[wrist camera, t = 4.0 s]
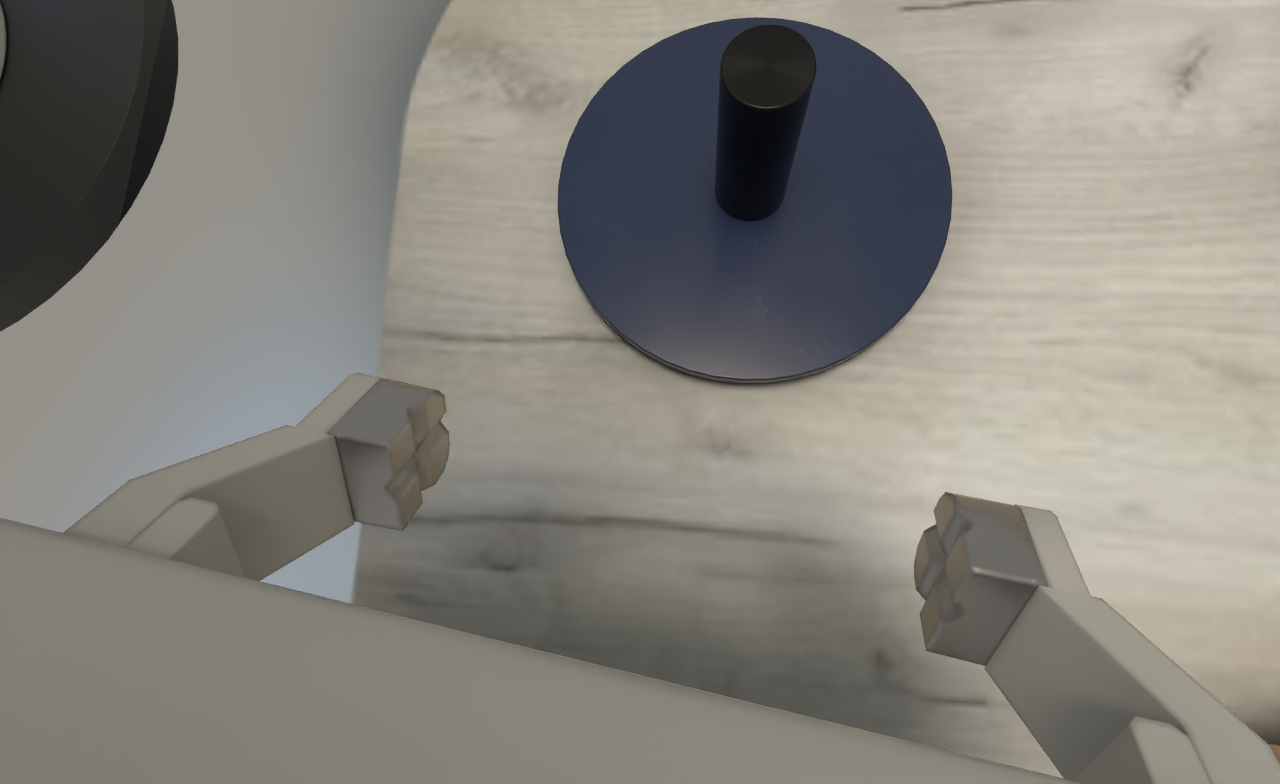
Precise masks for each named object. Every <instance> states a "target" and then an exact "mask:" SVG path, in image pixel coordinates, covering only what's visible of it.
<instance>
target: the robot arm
mask: <svg viewBox="0 0 1280 784" xmlns="http://www.w3.org/2000/svg"><path fill="white" fill-rule="evenodd" d="M5 54H6V24H5V18H4V13H3V9H2V6H1V3H0V78H1V75H2V70H3V66H4V60H5ZM445 413H446V404H445V397H444V395H443V394H442V393H441V392H440V391H439V390H434V389H430V388H425V387H421V386H417V385H412V384H408V383H403V382H399V381H394V380H390V379H383V378H379V377H374V376H370V375H365V374H360V373H357V374H353V375H350V376H349V377H347V379H345V380H344V381H343V382H342V383H341V384H340V385H339V386H338V387H337V388H336V389H335V390H334V391H333V392H332V393H331V394H329V395H328V396H327V397H326V398H325V399H324V400H323V401H322V402H321V403H320V404H319V405H318V406H317V407H316V408H315V409H314V410H313V411H312V412H310V413H309V414H308V415H307V416H306V417H305V418H304V419H303V420H302V421H301V422H300V423H299V424H298V425H297V426H296V427H292V426H287V425H286V426H283V427H280V428H277V429H274V430H272V431H269V432H266V433H263V434H260V435H257V436H254V437H252V438H249V439H246V440H243V441H241V442H237V443H234V444H232V445H229V446H226V447H223V448H220V449H217V450H214V451H211V452H209V453H206V454H203V455H200V456H197V457H194V458H191V459H189V460H186V461H183V462H180V463H177V464H174V465H171V466H169V467H166V468H163V469H160V470H157V471H154V472H151V473H148V474H146V475H143V476H140V477H137V478H134V479H131V480H129V481H128V482H126V483H125V484H124V485H123V486H121V487H120V488H119V489H118V490H116V491H115V492H114V493H113V494H111V495H110V496H109V497H108V498H106V499H105V500H104V501H103V502H101V503H100V504H99V505H98V506H96V507H95V508H94V509H93V510H91V511H90V512H89V513H88V514H86V515H85V516H84V517H83V518H82V519H80V520H79V521H78V522H76V523H75V524H74V525H72V526H71V527H70V528H69V529H67V530H66V531H65V532H64V533H60V532H56V531H52V530H47V529H44V528H40V527H36V526H32V525H28V524H23V523H19V522H15V521H11V520H7V519H3V518H0V784H1280V764H1279V762H1278V760H1277V759H1276V757H1275V755H1274V753H1273V751H1272V750H1271V748H1270V746H1269V745H1268V744H1267V743H1266V742H1265V741H1264V740H1263V739H1262V738H1260V737H1259V736H1258V735H1257V734H1256V733H1255V732H1254V731H1252V730H1251V729H1250V728H1249V727H1248V726H1247V725H1246V724H1245V723H1243V722H1242V721H1241V720H1240V719H1239V718H1238V717H1237V716H1235V715H1234V714H1233V713H1232V712H1231V711H1230V710H1229V709H1227V708H1226V707H1225V706H1224V705H1223V704H1222V703H1221V702H1219V701H1218V700H1217V699H1216V698H1215V697H1214V696H1213V695H1211V694H1210V693H1209V692H1208V691H1207V690H1206V689H1205V688H1203V687H1202V686H1201V685H1200V684H1199V683H1198V682H1197V681H1195V680H1194V679H1193V678H1192V677H1191V676H1190V675H1189V674H1187V673H1186V672H1185V671H1184V670H1183V669H1182V668H1181V667H1179V666H1178V665H1177V664H1176V663H1175V662H1174V661H1173V660H1171V659H1170V658H1169V657H1168V656H1167V655H1166V654H1165V653H1163V652H1162V651H1161V650H1160V649H1159V648H1158V647H1157V646H1155V645H1154V644H1153V643H1152V642H1151V641H1150V640H1149V639H1147V638H1146V637H1145V636H1144V635H1143V634H1142V633H1141V632H1139V631H1138V630H1137V629H1136V628H1135V627H1134V626H1133V625H1131V624H1130V623H1129V622H1128V621H1127V620H1126V619H1125V618H1123V617H1122V616H1121V615H1120V614H1119V613H1118V612H1117V611H1115V610H1114V609H1113V608H1112V607H1111V606H1110V605H1109V604H1107V603H1106V602H1105V601H1104V600H1103V599H1101V598H1096V597H1092V596H1091V595H1090V593H1089V591H1088V588H1087V586H1086V584H1085V581H1084V579H1083V577H1082V574H1081V572H1080V570H1079V567H1078V565H1077V563H1076V560H1075V558H1074V556H1073V553H1072V551H1071V549H1070V546H1069V544H1068V542H1067V539H1066V537H1065V535H1064V532H1063V530H1062V528H1061V525H1060V523H1059V521H1058V518H1057V516H1056V515H1055V514H1054V513H1052V512H1051V511H1049V510H1043V509H1038V508H1032V507H1026V506H1021V505H1010V504H1005V503H1000V502H995V501H990V500H984V499H979V498H974V497H969V496H964V495H959V494H954V493H948V492H945V493H944V494H943V495H942V496H941V497H940V499H939V501H938V503H937V505H936V507H935V509H934V514H935V519H936V525H934V526H932V527H930V528H928V529H926V530H925V531H924V532H923V535H922V537H921V539H920V542H919V544H918V547H917V552H916V557H915V562H914V578H915V585H916V590H917V591H918V592H919V593H920V595H921V596H922V597H923V598H924V599H925V600H926V602H925V604H924V606H923V608H922V610H921V612H920V618H921V624H922V630H923V636H924V642H925V648H926V651H929V652H933V653H937V654H941V655H945V656H949V657H953V658H957V659H961V660H965V661H969V662H972V663H976V664H980V665H984V666H986V667H985V670H986V671H987V673H988V674H989V675H990V677H991V678H992V679H993V681H994V682H995V684H996V685H997V686H998V688H999V689H1000V690H1001V692H1002V693H1003V695H1004V696H1005V697H1006V699H1007V700H1008V702H1009V703H1010V704H1011V706H1012V707H1013V708H1014V710H1015V711H1016V713H1017V714H1018V715H1019V717H1020V718H1021V720H1022V721H1023V722H1024V724H1025V725H1026V726H1027V728H1028V729H1029V731H1030V732H1031V733H1032V735H1033V736H1034V737H1035V739H1036V740H1037V742H1038V743H1039V744H1040V746H1041V747H1042V749H1043V750H1044V751H1045V753H1046V754H1047V755H1048V757H1049V758H1050V760H1051V761H1052V762H1053V764H1054V765H1055V767H1056V768H1057V769H1058V771H1059V772H1060V773H1061V775H1062V776H1063V778H1064V779H1062V778H1058V777H1054V776H1050V775H1046V774H1042V773H1038V772H1033V771H1029V770H1025V769H1021V768H1017V767H1013V766H1009V765H1005V764H1001V763H997V762H993V761H989V760H985V759H981V758H976V757H972V756H968V755H964V754H960V753H956V752H952V751H948V750H944V749H940V748H936V747H932V746H928V745H924V744H920V743H915V742H911V741H907V740H903V739H899V738H895V737H891V736H887V735H883V734H879V733H875V732H871V731H867V730H863V729H859V728H854V727H850V726H846V725H842V724H838V723H834V722H830V721H826V720H822V719H818V718H814V717H810V716H806V715H802V714H798V713H793V712H789V711H785V710H781V709H777V708H773V707H769V706H765V705H761V704H757V703H753V702H749V701H745V700H741V699H736V698H732V697H728V696H724V695H720V694H716V693H712V692H708V691H704V690H700V689H696V688H692V687H688V686H684V685H680V684H675V683H671V682H667V681H663V680H659V679H655V678H651V677H647V676H643V675H639V674H635V673H631V672H627V671H622V670H618V669H614V668H610V667H606V666H602V665H598V664H594V663H590V662H586V661H582V660H578V659H574V658H570V657H565V656H561V655H557V654H553V653H549V652H545V651H541V650H537V649H533V648H529V647H525V646H521V645H517V644H513V643H508V642H504V641H500V640H496V639H492V638H488V637H484V636H480V635H476V634H472V633H468V632H464V631H460V630H456V629H451V628H447V627H443V626H439V625H435V624H431V623H427V622H423V621H419V620H415V619H411V618H407V617H403V616H398V615H394V614H390V613H386V612H382V611H378V610H374V609H370V608H366V607H362V606H358V605H354V604H350V603H345V602H341V601H337V600H333V599H329V598H325V597H321V596H317V595H313V594H308V593H304V592H301V591H296V590H292V589H288V588H284V587H280V586H276V585H272V584H268V583H264V582H260V580H262V579H264V578H265V577H267V576H269V575H270V574H272V573H274V572H275V571H277V570H279V569H280V568H282V567H284V566H285V565H287V564H288V563H290V562H292V561H294V560H295V559H297V558H299V557H300V556H302V555H304V554H305V553H307V552H308V551H310V550H312V549H313V548H315V547H317V546H319V545H320V544H322V543H324V542H325V541H327V540H329V539H330V538H332V537H334V536H335V535H337V534H339V533H340V532H342V531H343V530H345V529H347V528H349V527H350V526H352V525H354V521H355V522H360V523H365V524H370V525H375V526H380V527H385V528H390V529H395V530H400V531H404V529H405V528H406V526H407V525H408V523H409V522H410V520H411V519H412V518H413V516H414V515H415V513H416V512H417V510H418V509H419V507H420V506H421V505H422V503H423V502H422V494H421V491H423V490H425V489H427V488H429V487H431V486H433V485H435V484H436V483H437V481H438V479H439V478H440V476H441V475H442V473H443V471H444V468H445V465H446V462H447V460H448V456H449V447H450V441H449V432H448V431H447V429H446V428H445V427H444V425H443V424H442V423H441V422H440V419H441V418H442V417H443V415H444V414H445Z"/></svg>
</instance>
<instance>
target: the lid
mask: <svg viewBox="0 0 1280 784" xmlns="http://www.w3.org/2000/svg"><path fill="white" fill-rule="evenodd" d="M951 208H952V185H951V174H950V167H949V163H948V159H947V154H946V150H945V146H944V143H943V141H942V138H941V136H940V133H939V131H938V128H937V126H936V123H935V122H934V120H933V118H932V116H931V115H930V113H929V111H928V109H927V108H926V106H925V104H924V102H923V101H922V100H921V98H920V97H919V96H918V95H917V93H916V92H915V91H914V89H913V88H912V87H911V85H910V84H909V83H908V82H907V81H906V80H905V79H904V78H903V77H902V76H901V75H900V74H899V73H898V72H897V71H896V70H895V69H894V68H893V67H892V66H891V65H889V64H888V63H887V62H885V61H884V60H883V59H882V58H880V57H879V56H878V55H876V54H875V53H874V52H872V51H871V50H869V49H867V48H865V47H864V46H862V45H860V44H859V43H857V42H855V41H853V40H852V39H849V38H847V37H845V36H842V35H840V34H838V33H835V32H833V31H831V30H828V29H825V28H821V27H818V26H814V25H811V24H808V23H803V22H797V21H791V20H785V19H776V18H741V19H730V20H724V21H719V22H713V23H708V24H704V25H701V26H698V27H694V28H691V29H688V30H685V31H682V32H680V33H678V34H675V35H673V36H671V37H668V38H666V39H664V40H662V41H660V42H658V43H656V44H655V45H653V46H651V47H649V48H648V49H646V50H644V51H642V52H641V53H640V54H638V55H637V56H636V57H634V58H633V59H632V60H630V61H629V62H628V63H626V64H625V65H624V66H622V67H621V68H620V69H619V70H618V71H617V72H616V73H615V74H614V75H613V76H612V77H611V78H610V79H609V80H608V81H607V82H606V83H605V84H604V85H603V86H602V88H601V89H600V90H599V91H598V92H597V94H596V95H595V96H594V97H593V99H592V100H591V101H590V103H589V104H588V106H587V108H586V109H585V111H584V112H583V114H582V116H581V117H580V119H579V121H578V123H577V125H576V127H575V129H574V131H573V134H572V136H571V138H570V140H569V143H568V146H567V149H566V153H565V156H564V159H563V162H562V167H561V173H560V179H559V185H558V216H559V225H560V233H561V237H562V241H563V244H564V248H565V252H566V256H567V258H568V261H569V263H570V265H571V268H572V270H573V273H574V275H575V277H576V279H577V281H578V283H579V285H580V286H581V288H582V290H583V291H584V293H585V295H586V296H587V298H588V300H589V302H590V303H591V304H592V305H593V307H594V308H595V309H596V310H597V312H598V313H599V314H600V315H601V317H602V318H603V319H604V321H605V322H607V323H608V324H609V325H610V326H611V327H612V328H613V329H614V330H615V331H616V332H617V333H618V334H619V335H620V336H621V337H622V338H623V339H625V340H626V341H628V342H629V343H630V344H632V345H633V346H634V347H636V348H637V349H639V350H640V351H641V352H643V353H644V354H646V355H648V356H650V357H652V358H654V359H655V360H657V361H659V362H661V363H663V364H665V365H667V366H670V367H672V368H675V369H678V370H680V371H683V372H685V373H688V374H691V375H695V376H699V377H704V378H708V379H712V380H717V381H726V382H735V383H770V382H777V381H784V380H791V379H796V378H800V377H803V376H807V375H811V374H814V373H818V372H821V371H823V370H826V369H828V368H830V367H833V366H835V365H838V364H840V363H842V362H845V361H846V360H848V359H850V358H852V357H853V356H855V355H857V354H858V353H860V352H862V351H863V350H865V349H867V348H868V347H870V346H871V345H872V344H873V343H875V342H876V341H877V340H879V339H880V338H881V337H882V336H884V335H885V334H886V333H888V332H889V331H890V330H891V329H892V328H893V327H894V326H895V325H896V324H897V323H898V322H899V320H900V319H901V318H902V317H903V316H904V315H905V314H906V313H907V312H908V311H909V310H910V309H911V308H912V306H913V305H914V304H915V302H916V301H917V299H918V298H919V297H920V295H921V294H922V293H923V291H924V290H925V288H926V287H927V285H928V283H929V281H930V279H931V277H932V275H933V274H934V272H935V270H936V268H937V266H938V263H939V260H940V258H941V255H942V252H943V249H944V247H945V244H946V240H947V235H948V230H949V225H950V220H951Z"/></svg>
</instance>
